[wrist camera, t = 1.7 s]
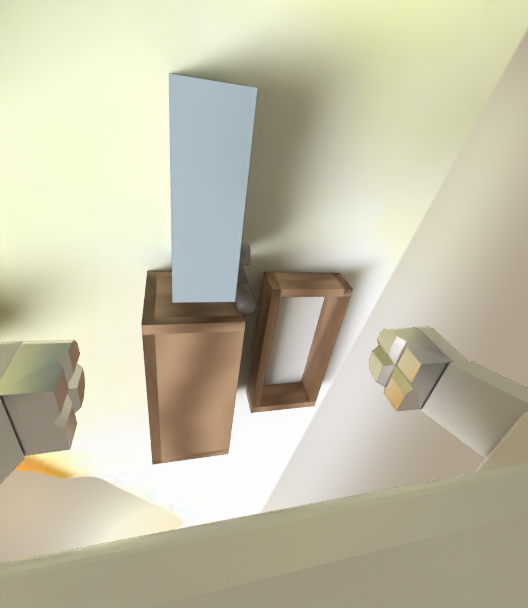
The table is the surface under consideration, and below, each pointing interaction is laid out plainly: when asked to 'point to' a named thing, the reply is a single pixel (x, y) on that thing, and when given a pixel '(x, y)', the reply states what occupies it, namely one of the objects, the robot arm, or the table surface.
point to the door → (208, 185)
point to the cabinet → (225, 358)
